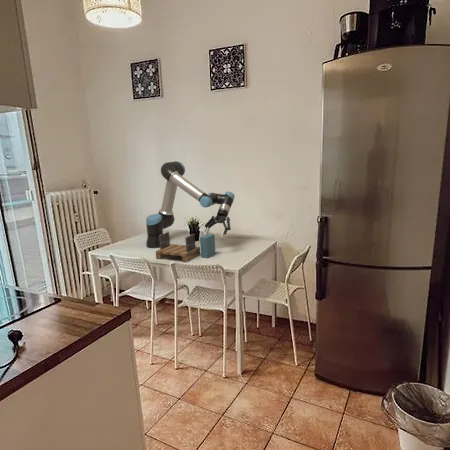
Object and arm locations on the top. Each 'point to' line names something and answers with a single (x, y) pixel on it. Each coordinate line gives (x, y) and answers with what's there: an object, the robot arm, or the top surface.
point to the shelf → (177, 248)
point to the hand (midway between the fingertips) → (213, 237)
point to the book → (207, 245)
